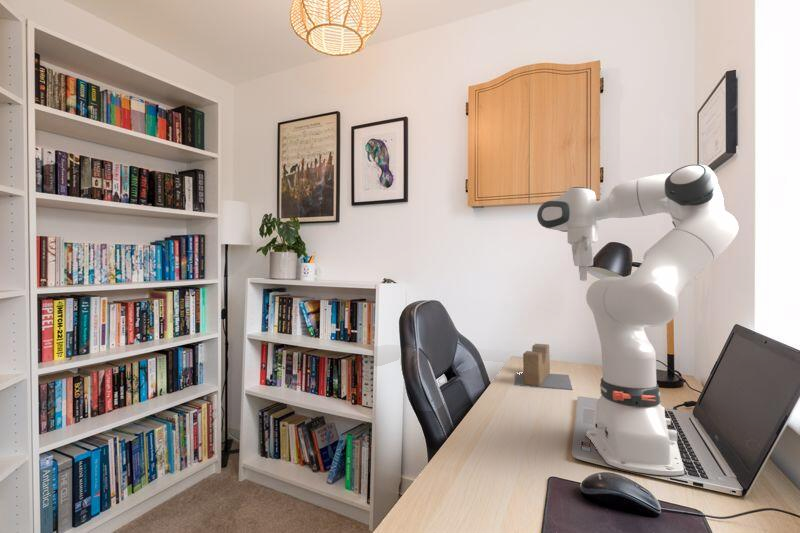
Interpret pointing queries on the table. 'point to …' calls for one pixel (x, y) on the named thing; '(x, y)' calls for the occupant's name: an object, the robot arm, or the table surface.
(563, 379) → the felt pad
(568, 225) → the robot arm
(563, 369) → the table surface
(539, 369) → the decorative block
